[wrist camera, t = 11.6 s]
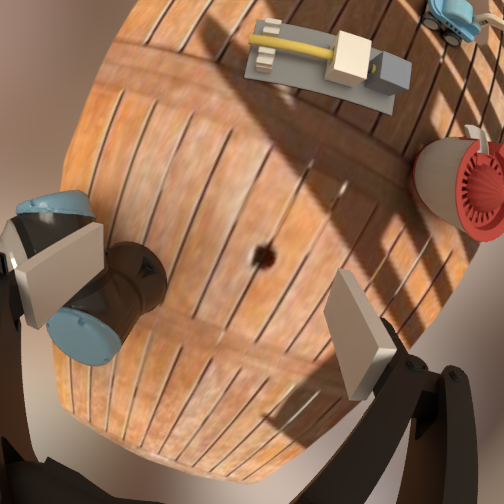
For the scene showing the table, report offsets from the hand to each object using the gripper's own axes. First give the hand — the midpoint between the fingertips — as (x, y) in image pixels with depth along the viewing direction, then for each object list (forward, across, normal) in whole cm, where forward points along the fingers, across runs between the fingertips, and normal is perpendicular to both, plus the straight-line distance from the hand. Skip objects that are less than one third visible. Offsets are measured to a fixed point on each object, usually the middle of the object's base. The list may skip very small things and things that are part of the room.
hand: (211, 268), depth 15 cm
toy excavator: (+35, +34, +44) cm, 66 cm away
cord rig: (+35, +9, +24) cm, 43 cm away
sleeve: (+34, +11, +24) cm, 43 cm away
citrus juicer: (+35, +34, +11) cm, 50 cm away
